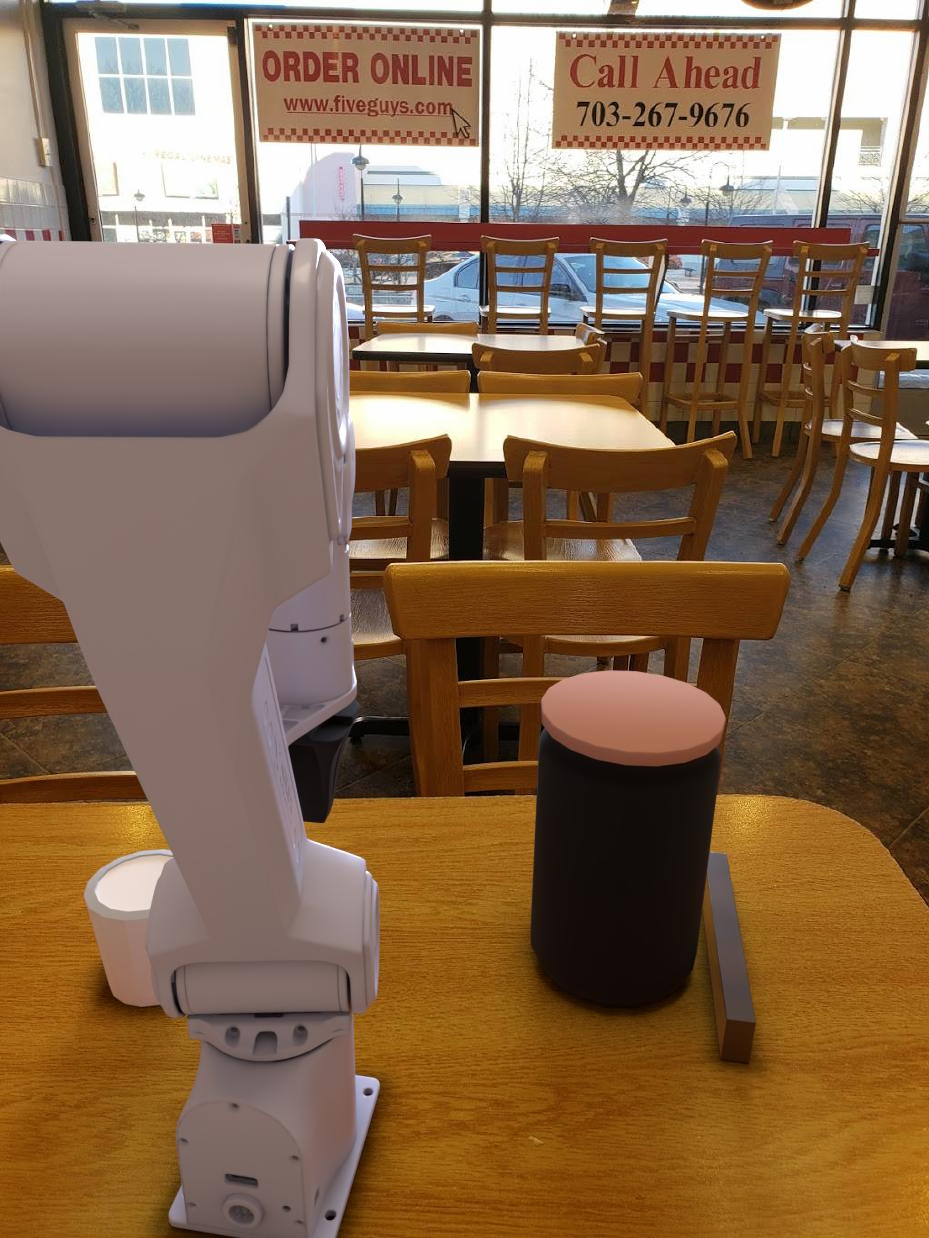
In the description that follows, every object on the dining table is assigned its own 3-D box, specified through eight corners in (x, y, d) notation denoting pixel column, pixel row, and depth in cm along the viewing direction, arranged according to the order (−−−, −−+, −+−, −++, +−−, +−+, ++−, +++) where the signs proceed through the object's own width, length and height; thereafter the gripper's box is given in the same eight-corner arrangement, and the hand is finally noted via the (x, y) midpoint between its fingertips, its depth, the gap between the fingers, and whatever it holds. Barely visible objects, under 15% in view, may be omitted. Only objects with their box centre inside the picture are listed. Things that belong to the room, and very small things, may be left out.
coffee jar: (693, 914, 65) (722, 678, 58) (696, 1030, 55) (731, 762, 49) (540, 892, 67) (551, 662, 60) (517, 1000, 57) (527, 740, 51)
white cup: (195, 1015, 56) (184, 920, 53) (80, 1012, 56) (63, 917, 53) (224, 937, 62) (216, 848, 60) (122, 935, 62) (108, 846, 60)
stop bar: (749, 1063, 53) (756, 1022, 52) (720, 1059, 53) (726, 1018, 52) (722, 888, 68) (726, 853, 67) (699, 885, 68) (703, 850, 67)
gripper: (277, 570, 61) (288, 753, 66) (180, 658, 48) (204, 879, 53) (382, 577, 60) (386, 762, 65) (314, 669, 47) (325, 893, 52)
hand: (311, 816), depth 59 cm, fingers closed
